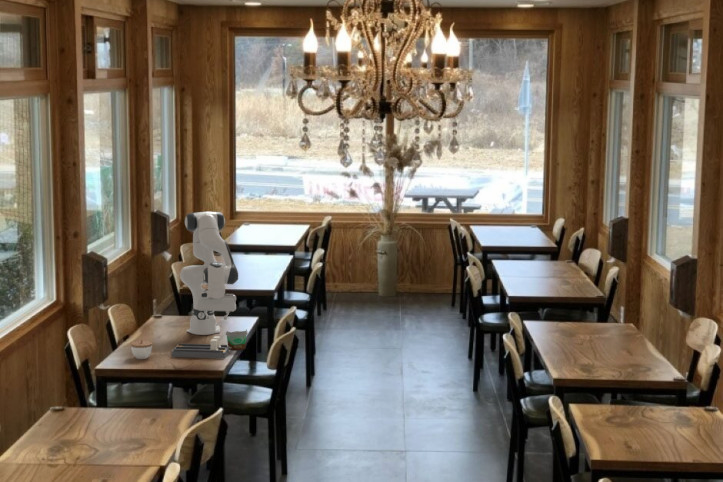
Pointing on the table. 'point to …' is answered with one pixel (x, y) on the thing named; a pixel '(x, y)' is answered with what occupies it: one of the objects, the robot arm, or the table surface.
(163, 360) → the table surface
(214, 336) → the tab
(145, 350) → the lidded jar
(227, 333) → the food container
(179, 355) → the switch board
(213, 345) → the tab
